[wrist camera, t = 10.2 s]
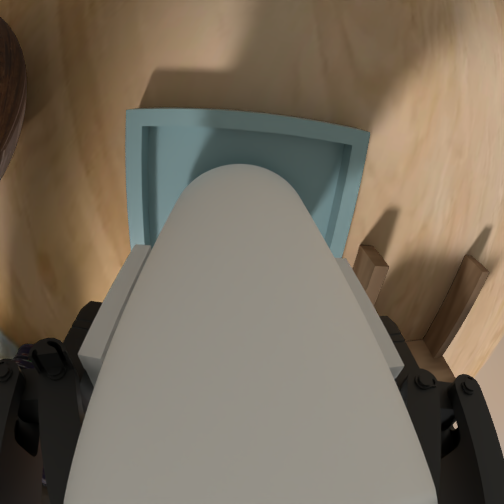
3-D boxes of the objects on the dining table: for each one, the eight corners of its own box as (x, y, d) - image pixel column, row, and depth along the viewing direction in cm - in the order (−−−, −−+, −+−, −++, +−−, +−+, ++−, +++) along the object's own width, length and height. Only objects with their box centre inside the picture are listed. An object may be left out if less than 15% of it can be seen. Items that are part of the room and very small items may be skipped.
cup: (302, 283, 20) (369, 532, 6) (181, 289, 20) (140, 541, 6) (310, 162, 16) (527, 448, 2) (163, 169, 16) (-29, 467, 2)
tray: (145, 291, 23) (139, 308, 21) (138, 108, 16) (126, 109, 14) (316, 301, 24) (322, 319, 22) (356, 128, 17) (370, 132, 15)
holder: (319, 354, 27) (342, 442, 19) (356, 244, 21) (417, 338, 13) (427, 345, 29) (463, 411, 20) (474, 255, 23) (534, 319, 14)
